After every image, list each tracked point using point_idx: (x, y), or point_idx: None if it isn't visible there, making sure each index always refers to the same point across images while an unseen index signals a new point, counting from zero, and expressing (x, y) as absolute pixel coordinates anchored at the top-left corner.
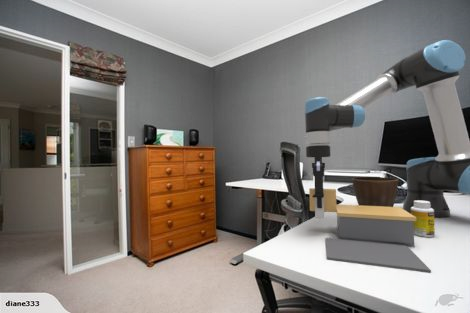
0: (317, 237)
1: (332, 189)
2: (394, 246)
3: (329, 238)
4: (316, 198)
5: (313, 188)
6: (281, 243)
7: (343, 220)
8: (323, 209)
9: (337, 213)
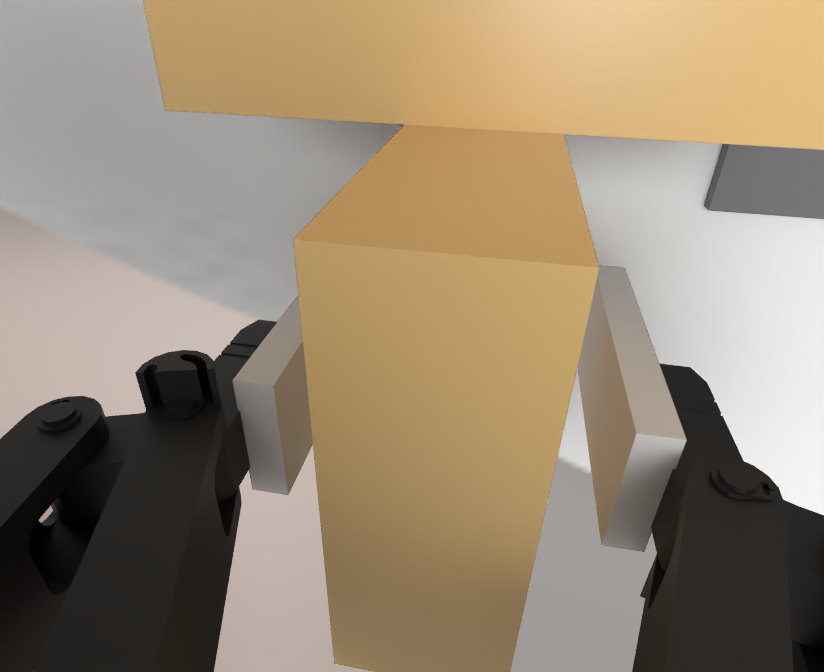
0: (649, 266)
1: (435, 334)
2: None
3: (730, 178)
4: (647, 516)
5: (335, 625)
6: (793, 492)
7: None
8: (644, 330)
9: (804, 144)
